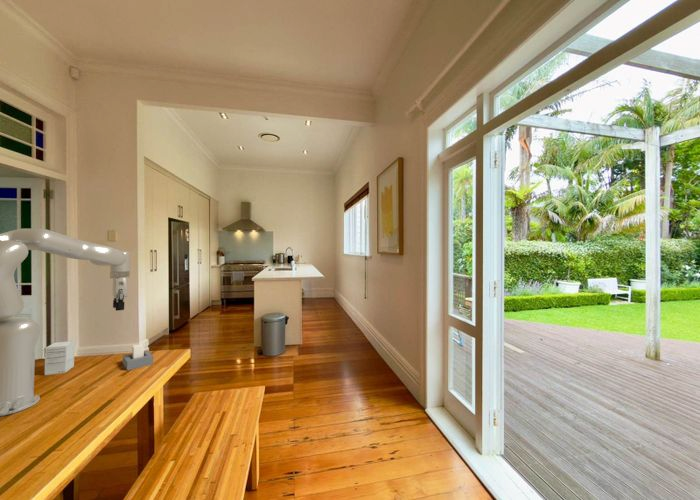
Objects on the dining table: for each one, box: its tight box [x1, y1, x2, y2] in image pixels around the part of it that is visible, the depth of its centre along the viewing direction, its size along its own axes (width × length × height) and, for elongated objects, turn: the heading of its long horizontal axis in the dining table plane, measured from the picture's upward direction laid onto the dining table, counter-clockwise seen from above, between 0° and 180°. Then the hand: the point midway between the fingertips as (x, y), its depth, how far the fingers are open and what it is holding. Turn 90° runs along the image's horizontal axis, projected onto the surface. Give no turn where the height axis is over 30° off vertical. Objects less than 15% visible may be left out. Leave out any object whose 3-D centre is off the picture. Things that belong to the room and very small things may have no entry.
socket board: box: [121, 349, 154, 371], centre depth 132 cm, size 12×10×4 cm
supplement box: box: [44, 340, 76, 376], centre depth 122 cm, size 7×7×13 cm
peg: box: [131, 343, 145, 359], centre depth 132 cm, size 4×4×9 cm
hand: (118, 308), depth 133 cm, fingers open, 9 cm apart
